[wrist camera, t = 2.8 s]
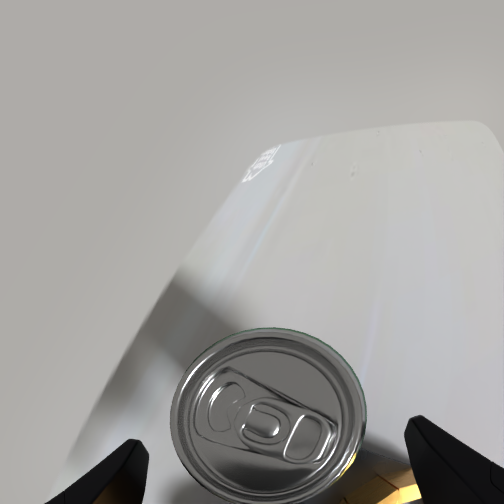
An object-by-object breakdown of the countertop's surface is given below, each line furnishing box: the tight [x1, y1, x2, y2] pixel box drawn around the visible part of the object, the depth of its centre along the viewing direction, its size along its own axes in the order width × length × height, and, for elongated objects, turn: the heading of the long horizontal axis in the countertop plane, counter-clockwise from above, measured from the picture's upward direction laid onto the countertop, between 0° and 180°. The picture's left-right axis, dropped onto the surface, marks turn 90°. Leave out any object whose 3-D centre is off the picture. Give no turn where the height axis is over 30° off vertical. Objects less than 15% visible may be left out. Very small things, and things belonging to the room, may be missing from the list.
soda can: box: [170, 327, 367, 504], centre depth 10 cm, size 5×5×12 cm
